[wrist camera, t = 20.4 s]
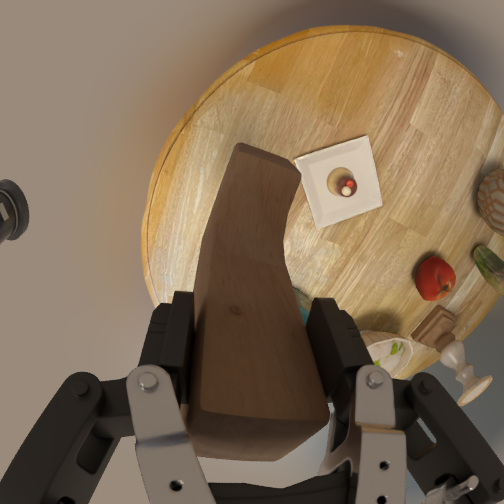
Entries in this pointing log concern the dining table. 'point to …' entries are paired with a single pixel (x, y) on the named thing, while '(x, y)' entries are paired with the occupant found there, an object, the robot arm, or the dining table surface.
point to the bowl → (388, 350)
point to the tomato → (434, 279)
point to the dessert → (340, 181)
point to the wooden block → (250, 323)
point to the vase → (492, 200)
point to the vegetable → (490, 267)
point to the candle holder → (450, 351)
